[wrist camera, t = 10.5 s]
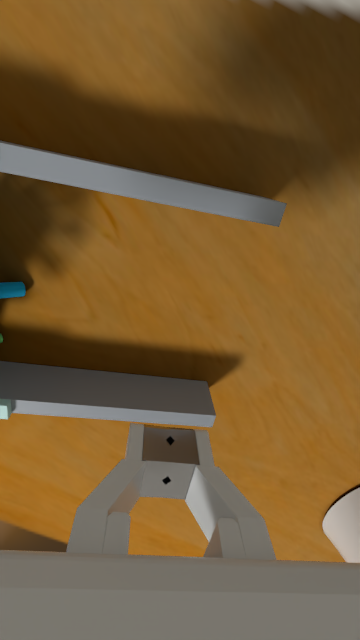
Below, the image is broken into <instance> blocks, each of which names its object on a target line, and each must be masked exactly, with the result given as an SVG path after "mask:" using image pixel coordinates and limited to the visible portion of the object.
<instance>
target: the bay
mask: <svg viewBox="0 0 360 640" xmlns="http://www.w3.org/2000/svg"><path fill="white" fill-rule="evenodd" d="M0 172H4V173H9V174H14V175H20V176H25V177H30V178H35V179H40V180H45V181H50V182H55V183H60V184H65V185H70V186H75V187H80V188H85V189H90V190H95V191H101V192H106V193H111V194H116V195H121V196H126V197H131V198H136V199H141V200H146V201H151V202H156V203H161V204H166V205H171V206H176V207H182V208H187V209H192V210H197V211H202V212H207V213H212V214H217V215H222V216H227V217H232V218H237V219H242V220H247V221H252V222H257V223H262V224H268V225H273V226H278V227H279V225H280V222H281V219H282V216H283V213H284V210H285V207H286V203H283V202H279V201H276V200H272V199H269V198H265V197H262V196H257V195H253V194H248V193H243V192H238V191H234V190H229V189H224V188H220V187H215V186H210V185H206V184H201V183H196V182H192V181H187V180H182V179H178V178H173V177H168V176H164V175H159V174H154V173H150V172H145V171H140V170H136V169H131V168H126V167H122V166H117V165H112V164H108V163H103V162H98V161H94V160H89V159H84V158H79V157H75V156H70V155H65V154H61V153H56V152H51V151H47V150H42V149H37V148H33V147H28V146H23V145H19V144H14V143H9V142H5V141H0ZM11 413H22V414H36V415H50V416H64V417H78V418H92V419H106V420H120V421H133V422H147V423H161V424H175V425H189V426H203V427H212V426H213V423H214V420H215V417H216V414H215V410H214V406H213V403H212V399H211V395H210V391H209V387H208V384H207V381H198V380H187V379H177V378H167V377H157V376H147V375H137V374H127V373H117V372H106V371H96V370H86V369H76V368H66V367H56V366H46V365H35V364H25V363H15V362H5V361H0V419H8V418H9V417H10V415H11Z"/></svg>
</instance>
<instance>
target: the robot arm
mask: <svg viewBox="0 0 360 640" xmlns="http://www.w3.org/2000/svg"><path fill="white" fill-rule="evenodd" d="M139 497H163V498H174V499H185V501H186V503H187V505H188V507H189V508H190V510H191V512H192V514H193V515H194V517H195V519H196V520H197V522H198V524H199V526H200V527H201V529H202V531H203V532H204V534H205V536H206V538H207V539H208V541H209V544H208V547H207V549H206V552H205V554H204V556H203V557H180V556H153V555H128V544H129V530H130V516H129V515H128V514H129V513H130V511H131V510H132V508H133V506H134V505H135V503H136V502H137V500H138V499H139ZM323 531H324V533H325V534H326V536H327V537H328V538H329V539H330V541H331V542H332V543H333V544H334V546H335V547H336V548H337V550H338V551H339V553H340V554H341V555H342V557H343V558H344V560H345V561H346V562H320V561H292V560H276V557H275V553H274V550H273V547H272V544H271V540H270V537H269V534H268V530H267V527H266V524H265V521H264V519H263V517H262V516H261V515H260V514H259V513H258V512H257V511H256V509H255V508H254V507H253V506H252V505H251V504H250V503H249V501H248V500H247V499H246V498H245V497H244V496H243V494H242V493H241V492H240V491H239V490H238V489H237V488H236V486H235V485H234V484H233V483H232V482H231V481H230V480H229V478H228V477H227V476H226V475H225V474H224V473H223V472H222V470H221V469H220V468H219V467H215V465H214V460H213V455H212V450H211V445H210V440H209V435H208V432H207V430H196V429H194V430H193V429H185V428H173V427H162V426H154V425H145V424H144V425H143V424H135V423H131V424H130V429H129V435H128V441H127V447H126V454H125V459H122V460H121V461H120V462H119V463H118V464H117V465H116V466H115V468H114V469H113V470H112V471H111V472H110V473H109V474H108V475H107V476H106V477H105V478H104V480H103V481H102V482H101V483H100V484H99V485H98V486H97V487H96V488H95V489H94V491H93V492H92V493H91V494H90V495H89V496H88V497H87V498H86V499H85V500H84V501H83V503H82V504H81V505H80V506H79V507H78V508H77V511H76V515H75V519H74V523H73V527H72V531H71V535H70V539H69V543H68V547H67V551H66V552H43V551H42V552H41V551H13V550H0V640H360V488H358V489H356V490H354V491H352V492H350V493H349V494H347V495H346V496H344V497H343V498H341V499H340V500H339V501H338V502H336V503H335V504H334V505H333V506H332V507H331V509H330V510H329V511H328V512H327V514H326V516H325V518H324V520H323Z"/></svg>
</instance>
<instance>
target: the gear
mask: <svg viewBox="0 0 360 640" xmlns="http://www.w3.org/2000/svg"><path fill="white" fill-rule="evenodd" d="M25 292H26V290H25V285H24V283H23V282H3V283H0V299H1V298H11V297H22V296H24V295H25ZM2 342H3V337H2V334H1V333H0V343H2Z"/></svg>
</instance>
